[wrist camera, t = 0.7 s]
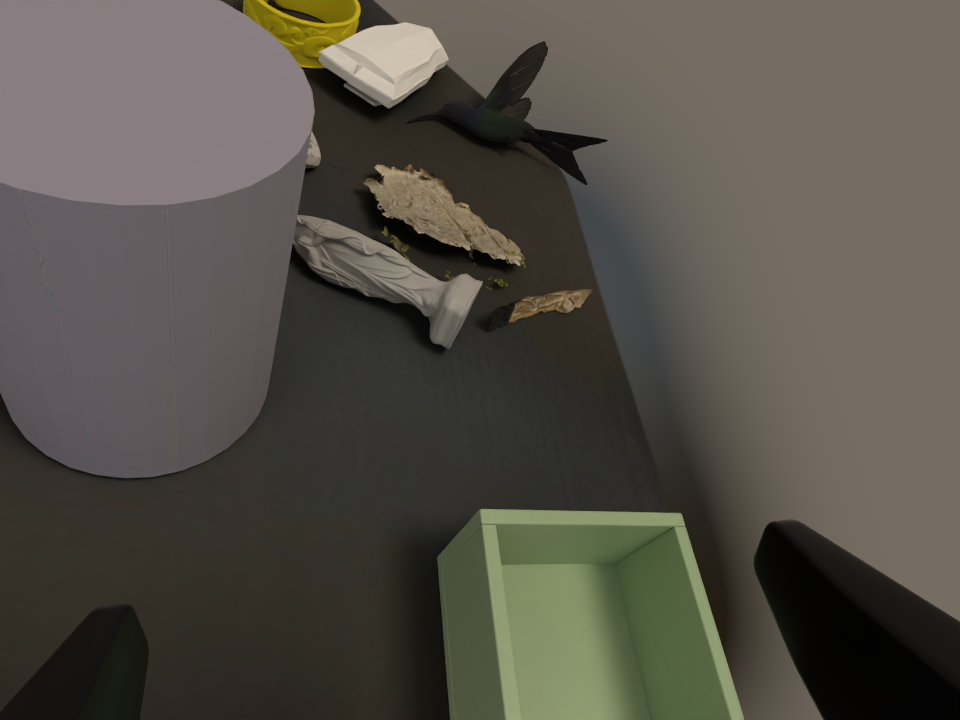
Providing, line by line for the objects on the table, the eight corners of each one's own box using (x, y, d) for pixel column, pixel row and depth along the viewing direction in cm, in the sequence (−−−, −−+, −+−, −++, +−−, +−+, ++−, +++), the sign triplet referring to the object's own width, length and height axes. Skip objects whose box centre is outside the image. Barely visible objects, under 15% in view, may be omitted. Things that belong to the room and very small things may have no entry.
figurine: (465, 319, 37) (445, 357, 34) (277, 226, 36) (243, 257, 34) (486, 275, 34) (466, 312, 32) (284, 175, 34) (248, 205, 31)
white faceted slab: (396, 83, 41) (382, 128, 44) (473, 42, 50) (458, 81, 52) (319, 33, 41) (310, 80, 44) (409, 0, 50) (397, 41, 52)
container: (-62, 419, 24) (-285, 60, 13) (106, 253, 31) (56, -81, 20) (196, 520, 25) (198, 272, 14) (305, 339, 32) (366, 71, 21)
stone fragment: (462, 167, 45) (469, 148, 43) (537, 284, 40) (548, 267, 39) (338, 176, 40) (343, 156, 39) (409, 310, 36) (416, 292, 34)
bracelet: (372, 55, 49) (382, 14, 46) (295, 80, 44) (302, 36, 41) (303, 0, 50) (309, -43, 47) (220, 19, 45) (222, -29, 42)
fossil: (479, 325, 37) (486, 335, 36) (488, 301, 35) (496, 311, 35) (578, 302, 41) (586, 311, 41) (589, 280, 40) (597, 289, 39)
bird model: (485, 243, 45) (404, 150, 48) (606, 177, 50) (526, 95, 53) (499, 193, 41) (408, 93, 43) (631, 125, 45) (542, 39, 48)
